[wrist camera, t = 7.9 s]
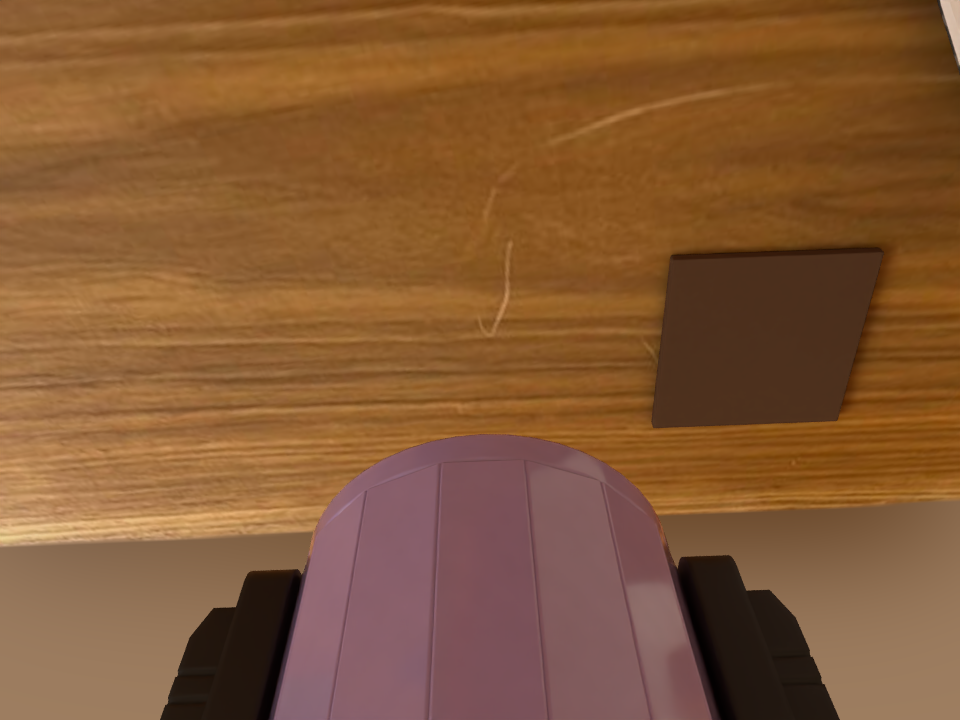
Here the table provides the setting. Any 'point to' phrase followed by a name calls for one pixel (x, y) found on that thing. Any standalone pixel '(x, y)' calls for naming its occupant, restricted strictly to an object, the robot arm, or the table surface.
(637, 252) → the table surface
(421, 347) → the table surface
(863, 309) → the mat
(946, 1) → the plate
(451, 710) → the lavender faceted cup
